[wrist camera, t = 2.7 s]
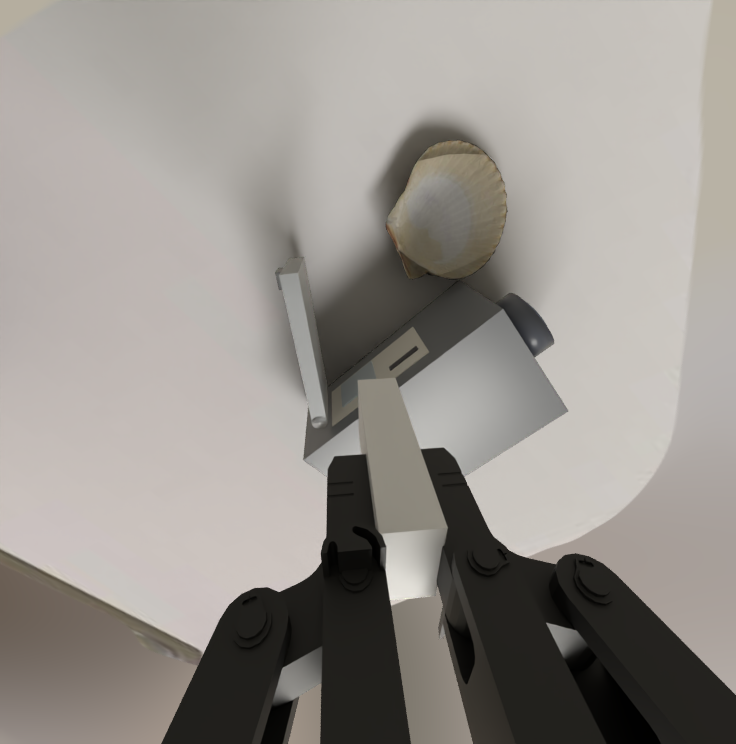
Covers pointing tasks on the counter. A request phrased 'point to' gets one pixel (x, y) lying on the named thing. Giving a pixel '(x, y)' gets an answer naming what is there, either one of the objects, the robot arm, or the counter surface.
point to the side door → (305, 337)
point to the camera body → (452, 381)
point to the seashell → (449, 212)
